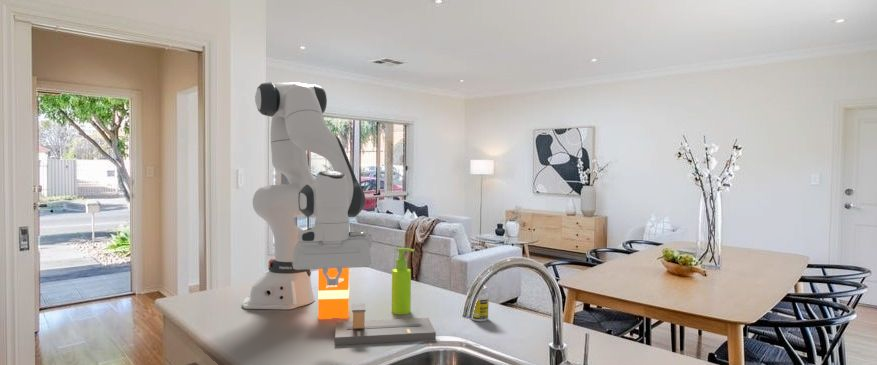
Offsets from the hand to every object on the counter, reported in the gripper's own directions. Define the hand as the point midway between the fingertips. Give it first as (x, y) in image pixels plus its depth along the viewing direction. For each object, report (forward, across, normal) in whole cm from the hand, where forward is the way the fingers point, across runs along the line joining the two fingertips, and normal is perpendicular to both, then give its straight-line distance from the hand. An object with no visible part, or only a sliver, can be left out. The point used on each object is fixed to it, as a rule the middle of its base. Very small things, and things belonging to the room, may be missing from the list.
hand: (332, 284), depth 127 cm
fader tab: (+12, -7, -1) cm, 14 cm away
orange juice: (+14, 0, -20) cm, 24 cm away
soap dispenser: (+14, -21, -20) cm, 32 cm away
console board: (+14, -14, -1) cm, 20 cm away
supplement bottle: (+15, -43, -10) cm, 46 cm away
